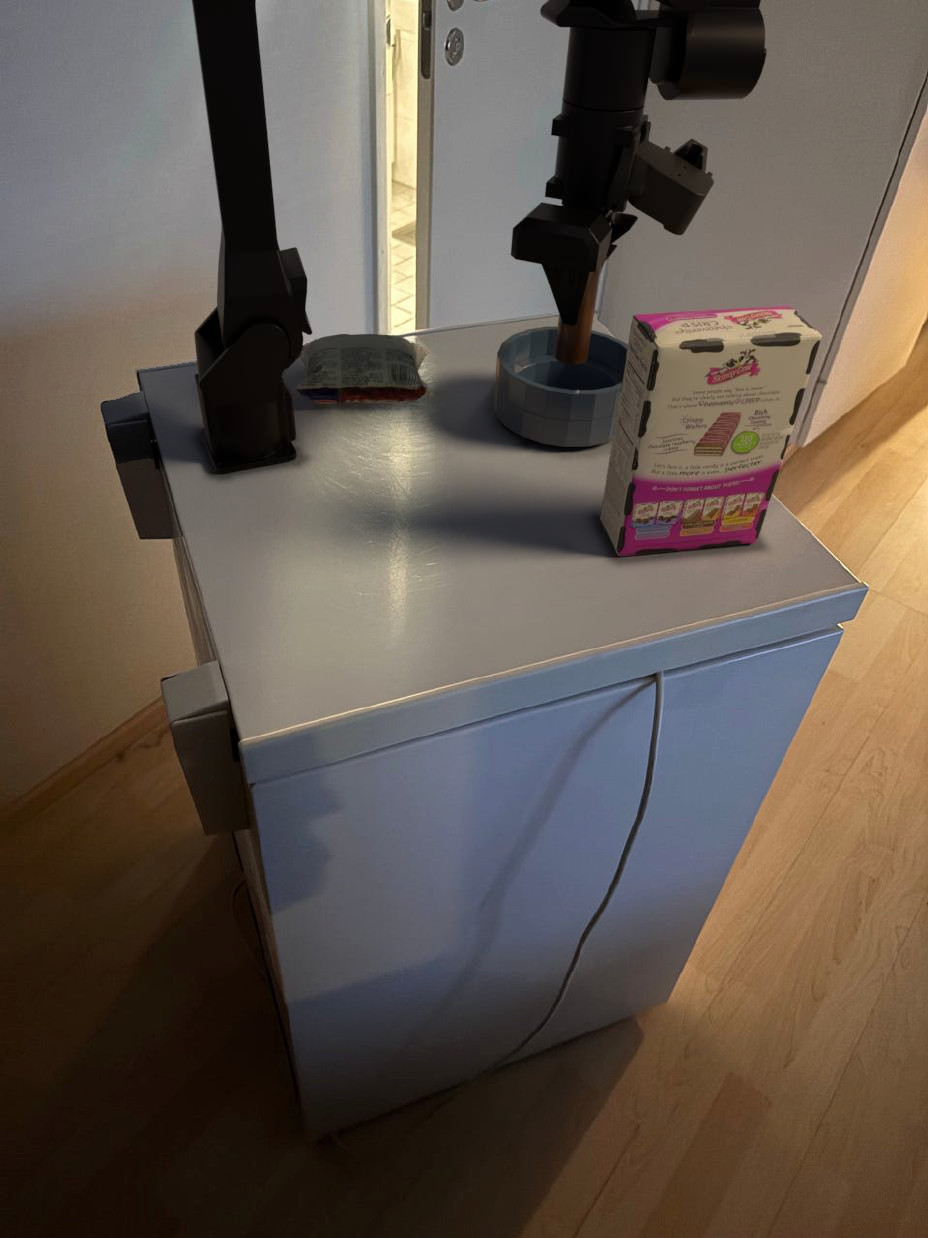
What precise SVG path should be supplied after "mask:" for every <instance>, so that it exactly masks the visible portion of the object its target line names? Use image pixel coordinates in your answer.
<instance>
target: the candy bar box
mask: <svg viewBox="0 0 928 1238" xmlns="http://www.w3.org/2000/svg"><path fill="white" fill-rule="evenodd" d="M629 331H630V332H629V338H628V343H627V344H628V349H627V355H626V362H625V368H624V374H623V380H622V387H621V392H620V398H619V404H618V413H617V418H616V423H615V429H614V434H613V440H611V448H610V455H609V460H608V466H607V473H606V478H605V483H604V484H605V485H604V492H603V495H602V496H603V497H602V503H601V509H600V517H599V520H600V522H601V526H602V528H603V530H604V531H605V533H606V534H607V536H608V538H609V541H610V543H611V544H612V547H613V549H614V551H615V553H616V554H617V556H618V557H630V556H639V555H648V554H649V555H650V554H659V553H669V552H678V551H679V552H680V551H689V550H697V549H706V548H707V549H708V548H715V547H726V546H735V545H745V544H755V543H757V542H758V540H759V537H760V533H761V531H762V527H763V524H764V522H765V518H766V515H767V511H768V509H769V505H770V504H771V503H770V502H771V498H772V496H773V493H774V490H775V486H776V483H777V480H778V476H779V473H780V470H781V468H782V464H783V462H784V458H785V454H786V450H787V448H788V444H789V441H790V438H791V435H792V433H793V430H794V426H795V424H796V420H797V417H798V414H799V410H800V407H801V404H802V401H803V399H804V395H805V391H806V388H807V385H808V382H809V379H810V377H811V376H810V375H811V373H812V370H813V368H814V367H813V366H814V363H815V360H816V357H817V354H818V351H819V348H820V344H821V340H822V338H823V335H822V334H821V333H820V332H819V331H818V330H817V329H816V328H815V327H814V326H812V325H811V324H810V323H809V322H808V321H807V320H806V319H805V318H803V316H802V315H798V310H796V309H795V308H793V307H791V306H789V305H779V306H765V307H764V306H761V307H760V306H759V307H742V308H723V309H707V310H691V311H690V310H689V311H688V310H687V311H676V312H675V311H673V312H671V311H670V312H669V311H668V312H658V313H657V312H656V313H655V312H654V313H637V314H636V313H635V314H633V315H632V320H631V324H630V330H629Z"/></svg>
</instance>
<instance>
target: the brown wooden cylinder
mask: <svg viewBox="0 0 928 1238" xmlns="http://www.w3.org/2000/svg"><path fill="white" fill-rule="evenodd" d="M600 270H601V265H600V267H599V268H598V269H597V270H596V272H593V274H592V277H591V280H590V283H589V286H588V290H587V293H586V296H585V299H584V303H583V306H582V309H581V312H580V315H579V318H578V321H577V323H576V325H574V326H571V325H566V324H563V323H562V320H561V317H560V314H559V313H558V320H557V327H558V328H557V336H556V344H555V353H554V357H555V359H556V360H558V361H559V362H561V363H564V364H570V365H577V364H582V363H584V362H586V360H587V358H588V351H589V344H590V337H591V331H592V330H593V323H594V317H595V310H596V303H597V296H598V290H599V283H600V276H601V274H600Z"/></svg>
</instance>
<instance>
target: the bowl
mask: <svg viewBox="0 0 928 1238" xmlns="http://www.w3.org/2000/svg"><path fill="white" fill-rule="evenodd" d="M557 328H558V326H541V327H534V328H528V329H524V330H522V331H520V332H517V333H513V334H512V335H510V336H509V337H508V338H506V339H505V340H504V341H502V342H501V343H500V346H499V348H498V350H497V352H496V361H495V362H496V363H495V364H496V365H495V377H494V392H493V405H492V406H493V408H494V413H495V416H496V417H497V419H498V420H499V422H501V423H502V424H503V425H504V427H506V428H507V429H509V430H510V431H511V432H514V433H515V434H516V435H518V436H520V437H522V438H525V439H528V440H531V441H534V442H536V443H540V444H544V445H550V446H555V447H557V446H558V447H563V448H565V447H566V448H569V447H570V448H571V447H593V446H596V445H601V444H606V443H609V442H612V440H613V434H614V429H615V423H616V418H617V413H618V404H619V398H620V392H621V387H622V380H623V374H624V368H625V362H626V355H627V349H628V343H626V342H625V341H623V340H621V339H618V338H617V337H614V336H612V335H610V334H607V333H603V332H600V331H596V330H593V329H592V331H591V337H590V344H589V351H588V358H587V360H586V362H584V363H582V364H577V365H570V364H564V363H561V362H559V361H558V360H556V359H555V357H554V353H555V344H556V336H557Z"/></svg>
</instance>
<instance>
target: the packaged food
mask: <svg viewBox="0 0 928 1238" xmlns="http://www.w3.org/2000/svg"><path fill="white" fill-rule="evenodd" d="M428 355H430V349H429V348H427V347H424V346H420V344H418V343H416V342H414V341H411V342H410V341H409V340H408V339H406V338H405V337H403V336H400V335H395V334H381V333H380V334H378V333H358V334H349V333H340V334H333V335H326V336H322V337H318V338H317V339H313V340H312V341H310V342H306V343H305V344H303V349H302V353H301V355H300V358H299V359H300V361H301V363H302V364H303V366H304V371H305V374H306V378H305V379H304V380H303V381H302V382H301V383H300V384H299V385H298V386H297V387H296V388H295V389H294V392H297V393H298V394H300V395H301V396H302V397H306V398H308V399H309V400H310V401H313V402H315V403H317V404H319V405H323V404H324V405H325V404H326V405H329V404H330V405H331V404H333V405H335V404H354V403H358V404H359V403H360V404H397V403H401V402H402V403H404V402H405V403H406V402H414V401H417V400H420V399H421V398H423V397H424V396H427V397H432V398H433V396H434V394H433V392H432V391H431V390H430V388H429V386H428V384H427V383H425V381H423V380H422V378H421V375H420V373H419V370H420V369H421V366H422V364H423V362H424V361H425V357H428Z"/></svg>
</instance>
